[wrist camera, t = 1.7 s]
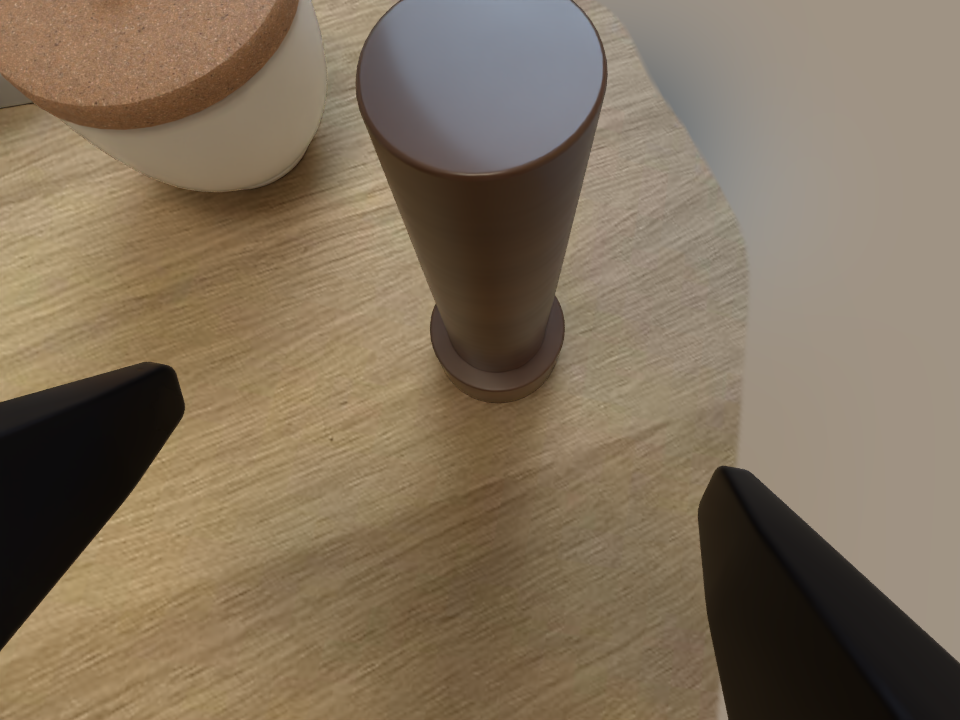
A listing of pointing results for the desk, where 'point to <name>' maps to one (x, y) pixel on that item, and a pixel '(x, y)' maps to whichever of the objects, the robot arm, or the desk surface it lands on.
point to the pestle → (486, 169)
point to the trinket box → (175, 82)
